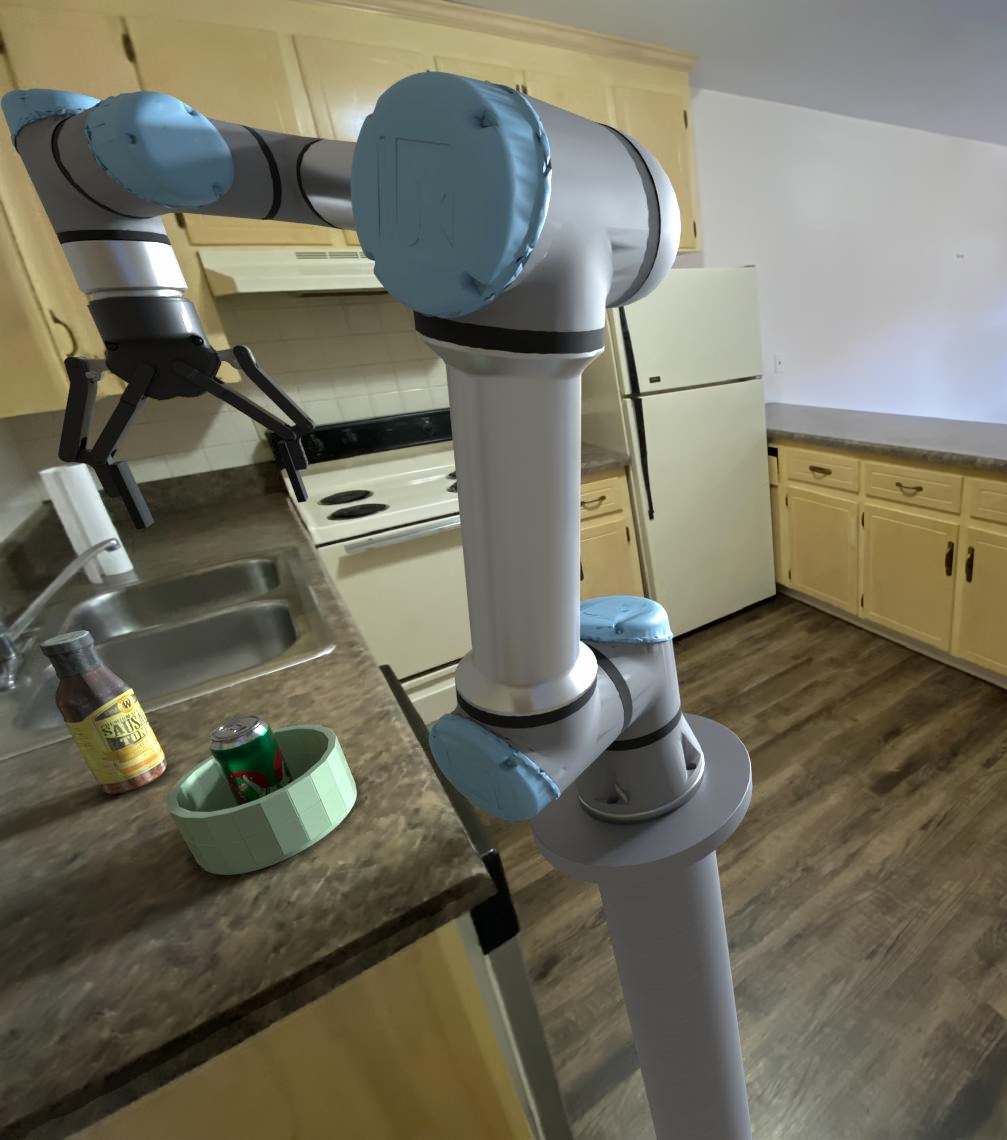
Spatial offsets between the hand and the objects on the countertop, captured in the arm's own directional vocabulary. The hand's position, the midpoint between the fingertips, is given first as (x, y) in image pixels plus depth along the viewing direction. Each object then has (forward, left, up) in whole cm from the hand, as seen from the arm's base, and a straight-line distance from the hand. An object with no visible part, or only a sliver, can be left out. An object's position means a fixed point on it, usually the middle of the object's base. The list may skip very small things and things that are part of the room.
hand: (228, 512), depth 67 cm
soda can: (+4, +10, -32) cm, 34 cm away
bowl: (+4, +10, -33) cm, 34 cm away
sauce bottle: (+21, -10, -33) cm, 40 cm away
